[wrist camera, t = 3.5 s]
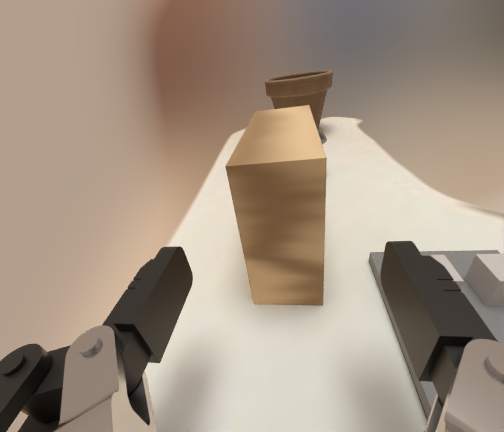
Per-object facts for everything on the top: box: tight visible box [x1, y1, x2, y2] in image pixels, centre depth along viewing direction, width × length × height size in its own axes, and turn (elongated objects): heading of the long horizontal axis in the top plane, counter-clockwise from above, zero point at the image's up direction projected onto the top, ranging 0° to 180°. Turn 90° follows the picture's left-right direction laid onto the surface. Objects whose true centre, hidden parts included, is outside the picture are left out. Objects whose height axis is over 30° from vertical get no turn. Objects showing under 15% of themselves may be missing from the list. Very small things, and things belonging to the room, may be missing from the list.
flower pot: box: [265, 71, 333, 129], centre depth 45 cm, size 12×11×10 cm
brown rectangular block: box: [226, 105, 326, 305], centre depth 19 cm, size 4×12×10 cm, turn 173°
